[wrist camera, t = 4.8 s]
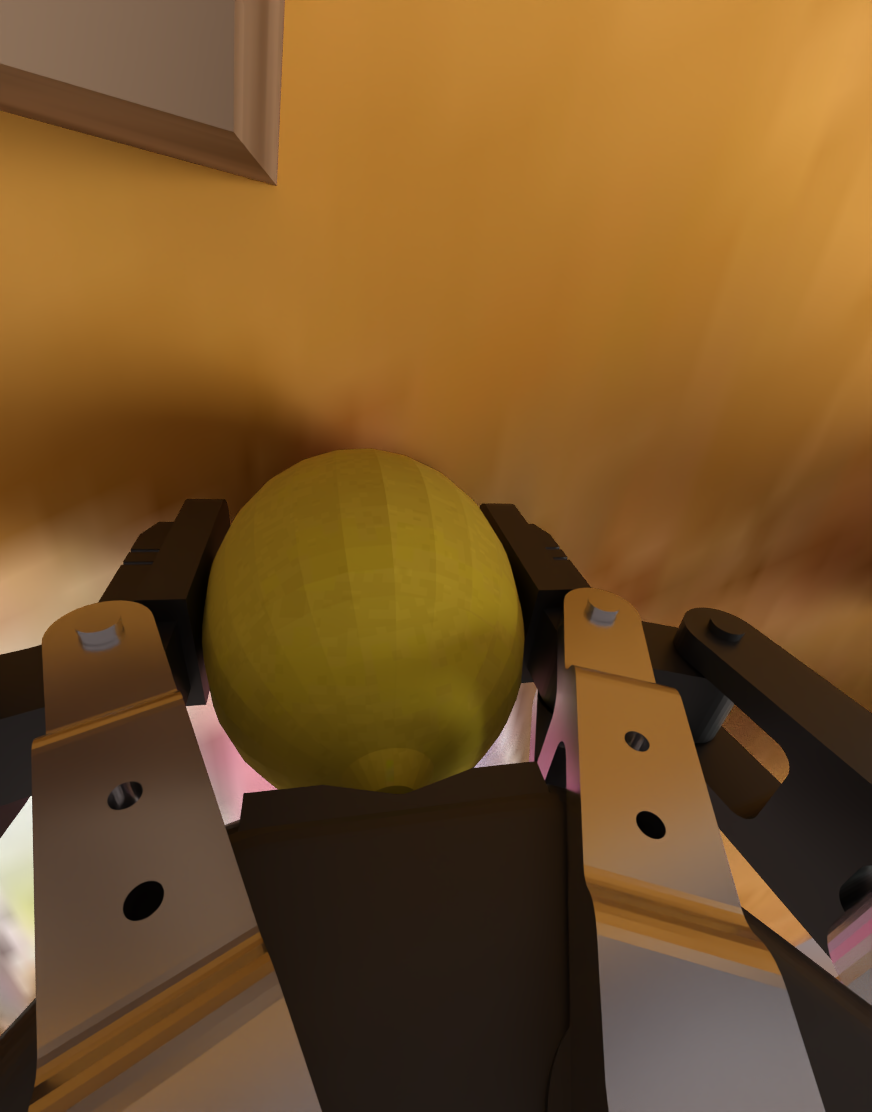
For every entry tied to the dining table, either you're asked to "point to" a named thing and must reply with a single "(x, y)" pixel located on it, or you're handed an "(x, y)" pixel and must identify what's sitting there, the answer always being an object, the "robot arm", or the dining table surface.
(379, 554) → the lemon
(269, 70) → the walnut box
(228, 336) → the dining table surface
